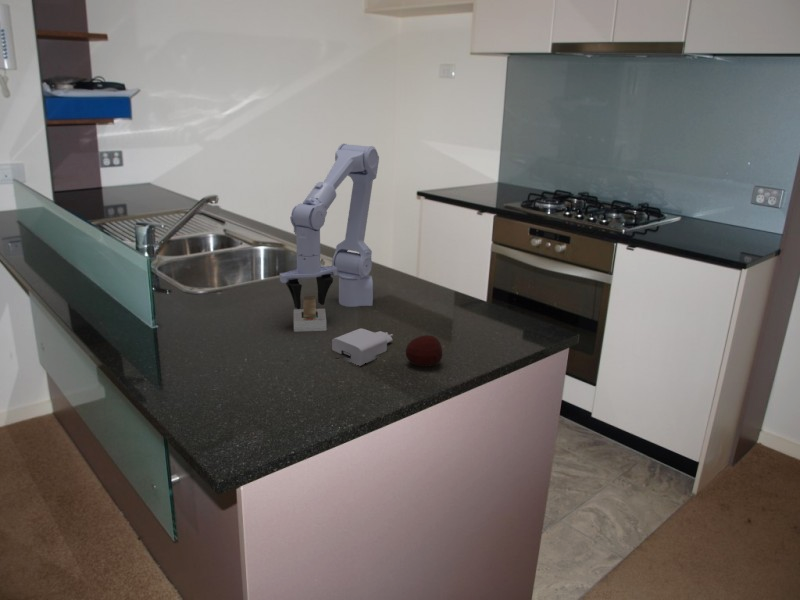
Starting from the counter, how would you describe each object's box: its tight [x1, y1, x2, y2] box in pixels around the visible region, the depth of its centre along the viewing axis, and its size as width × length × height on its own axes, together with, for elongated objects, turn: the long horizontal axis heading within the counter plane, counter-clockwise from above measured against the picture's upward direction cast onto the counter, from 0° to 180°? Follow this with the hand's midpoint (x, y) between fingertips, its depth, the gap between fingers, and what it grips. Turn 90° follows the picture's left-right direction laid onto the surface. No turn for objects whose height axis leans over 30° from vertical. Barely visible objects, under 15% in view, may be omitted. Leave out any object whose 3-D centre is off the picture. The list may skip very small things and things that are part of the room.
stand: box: [293, 308, 327, 333], centre depth 162 cm, size 12×12×4 cm
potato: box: [405, 334, 443, 367], centre depth 144 cm, size 7×8×7 cm
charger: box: [331, 328, 394, 367], centre depth 150 cm, size 5×9×15 cm
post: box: [302, 295, 317, 318], centre depth 161 cm, size 3×3×7 cm
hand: (309, 305), depth 160 cm, fingers open, 6 cm apart
